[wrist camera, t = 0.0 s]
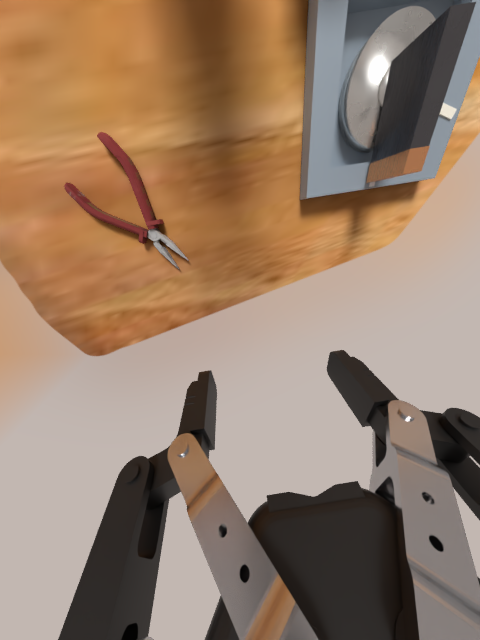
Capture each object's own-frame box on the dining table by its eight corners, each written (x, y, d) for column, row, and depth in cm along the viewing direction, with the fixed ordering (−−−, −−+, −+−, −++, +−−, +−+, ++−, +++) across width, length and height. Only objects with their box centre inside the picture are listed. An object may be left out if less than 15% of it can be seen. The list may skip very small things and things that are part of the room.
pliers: (166, 280, 37) (163, 284, 35) (69, 190, 28) (56, 187, 26) (204, 245, 34) (203, 246, 32) (109, 132, 25) (98, 123, 23)
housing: (309, -30, 20) (323, -70, 17) (496, -60, 20) (540, -104, 17) (299, 199, 31) (307, 198, 28) (417, 181, 31) (436, 177, 28)
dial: (347, 32, 22) (418, -75, 14) (439, 18, 22) (565, -99, 14) (329, 189, 30) (367, 179, 22) (395, 179, 30) (457, 165, 22)
